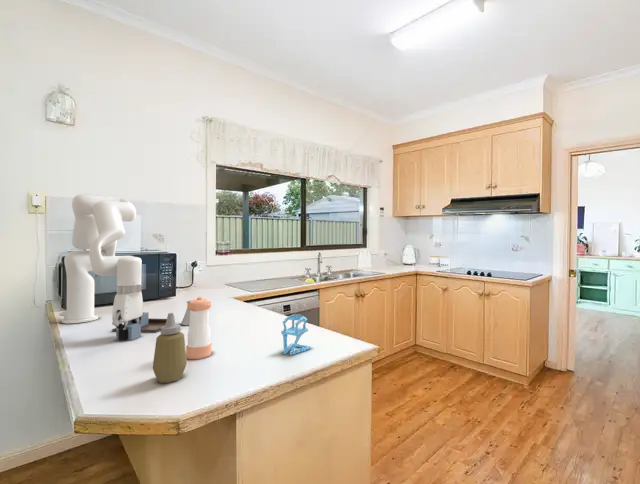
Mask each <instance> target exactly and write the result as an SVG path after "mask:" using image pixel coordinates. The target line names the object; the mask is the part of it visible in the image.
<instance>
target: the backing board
mask: <svg viewBox="0 0 640 484" xmlns="http://www.w3.org/2000/svg"><path fill="white" fill-rule="evenodd" d="M166 321H167V318H153V317H152V318H149V317H148V324H147V325H145V326H142V327H141V333H158V332H161V327H163V326H165V324H166ZM111 331H112V332H115V333H116V327H115V328H112V329H111Z"/></svg>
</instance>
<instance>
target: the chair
mask: <svg viewBox="0 0 640 484" xmlns="http://www.w3.org/2000/svg"><path fill="white" fill-rule="evenodd" d="M288 321H291V327H288V328H287V324H286V323H287V322H288ZM295 321H296V322H295ZM307 321H308V318H307V317H306V316H304V315H302V314H297V313H296V314H293V315H288V316H286V317H285V318H284V319H283V321H282V325H283V330H281V331H280V335H282V341H283V342H282V343H283V352H282V353H283V355H287V354H288V353H289V356H292V355H296V354H298V353H302V352H305V351H309V350H311V346H310V345H307V344H301V343H299V341H300V338H301V337H302V336H303V335H304V334H305V333H307V332H308V331H309V329H308V328H307V327H306V326H307V325H306V324H307ZM302 322H303V325H302V327H299V325H300V324H301V323H302ZM288 336H294V337H295V340H294V342H293V343H292V342H291V343H290V344H289V345H288ZM296 348H297V349H296Z"/></svg>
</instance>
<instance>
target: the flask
mask: <svg viewBox="0 0 640 484" xmlns="http://www.w3.org/2000/svg"><path fill="white" fill-rule="evenodd" d="M192 300H193V299H192ZM192 300H191V299H190V300H187V301H186V304H187V305H188V303H189V302H190V301H192ZM187 305H186V310H185V313H184V316H183V318H182V320H181V323H180V325H182V326H189V325H190V310H189V309H188V307H187Z"/></svg>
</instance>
